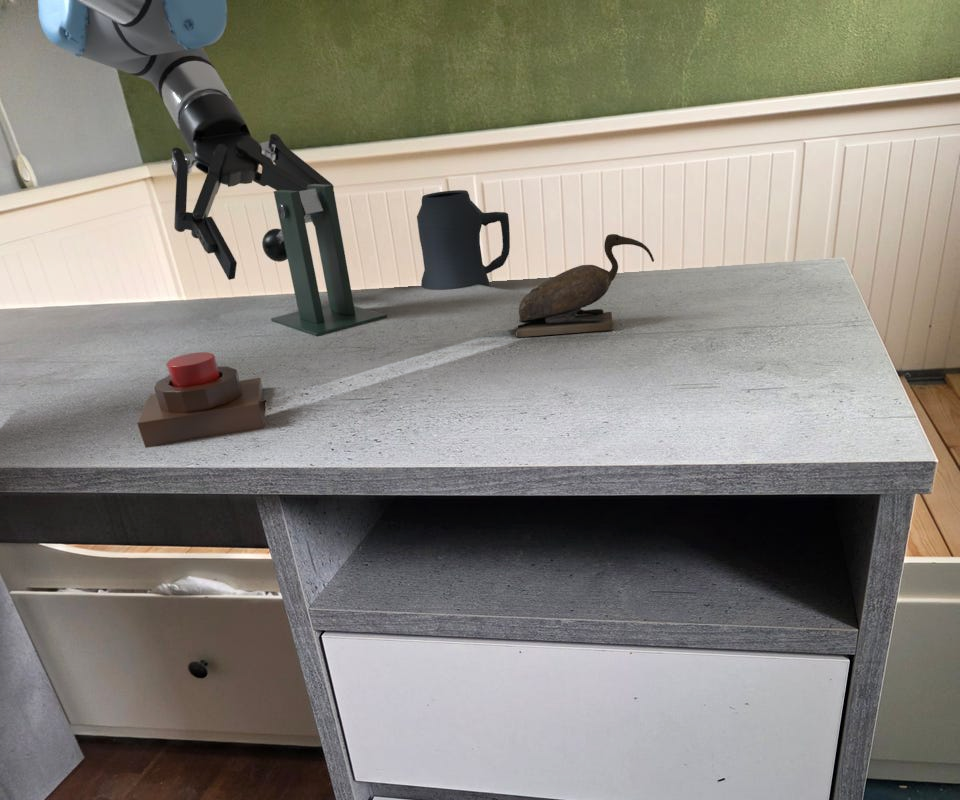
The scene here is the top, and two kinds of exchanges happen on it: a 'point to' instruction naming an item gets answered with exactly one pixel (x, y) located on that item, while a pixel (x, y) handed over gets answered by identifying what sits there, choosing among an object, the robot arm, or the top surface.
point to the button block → (202, 409)
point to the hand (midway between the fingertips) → (286, 260)
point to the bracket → (333, 263)
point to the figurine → (572, 298)
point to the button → (193, 369)
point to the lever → (274, 237)
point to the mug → (456, 241)
